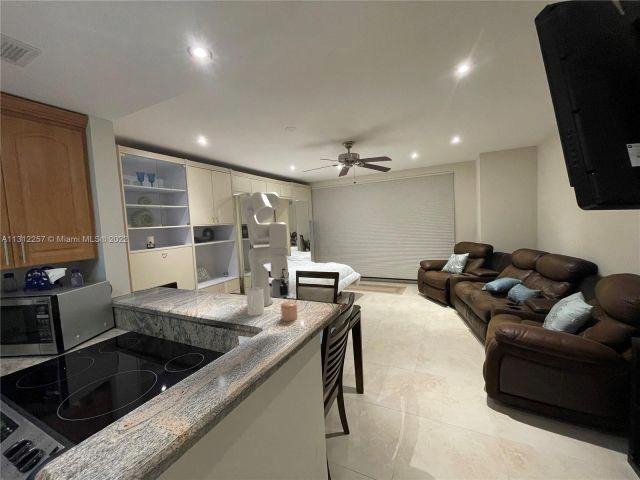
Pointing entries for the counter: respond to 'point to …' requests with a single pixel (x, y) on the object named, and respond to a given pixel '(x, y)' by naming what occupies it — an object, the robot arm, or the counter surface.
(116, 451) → the counter surface
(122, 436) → the counter surface
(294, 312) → the cup terracotta
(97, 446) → the counter surface
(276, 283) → the cup charcoal
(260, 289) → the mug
